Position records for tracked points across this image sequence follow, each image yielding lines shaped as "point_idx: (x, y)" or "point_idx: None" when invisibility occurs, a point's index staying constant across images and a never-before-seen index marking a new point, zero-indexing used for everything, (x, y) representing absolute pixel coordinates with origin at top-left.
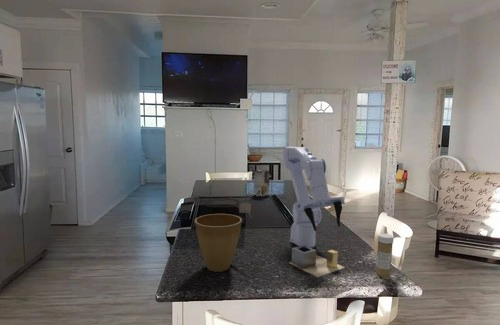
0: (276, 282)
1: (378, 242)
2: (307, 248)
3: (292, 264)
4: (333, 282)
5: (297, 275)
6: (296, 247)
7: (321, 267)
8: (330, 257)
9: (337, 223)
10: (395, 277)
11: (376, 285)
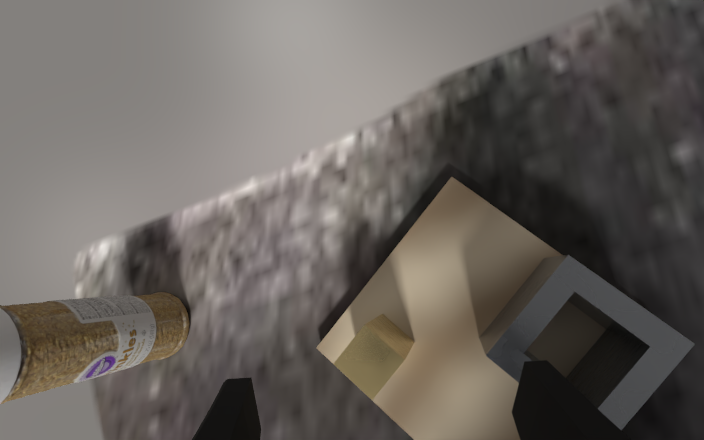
0: (663, 77)
1: (30, 345)
2: None
3: None
4: (374, 185)
5: (564, 201)
6: (659, 375)
7: (441, 308)
8: (386, 332)
9: (245, 385)
10: None
11: (199, 221)
